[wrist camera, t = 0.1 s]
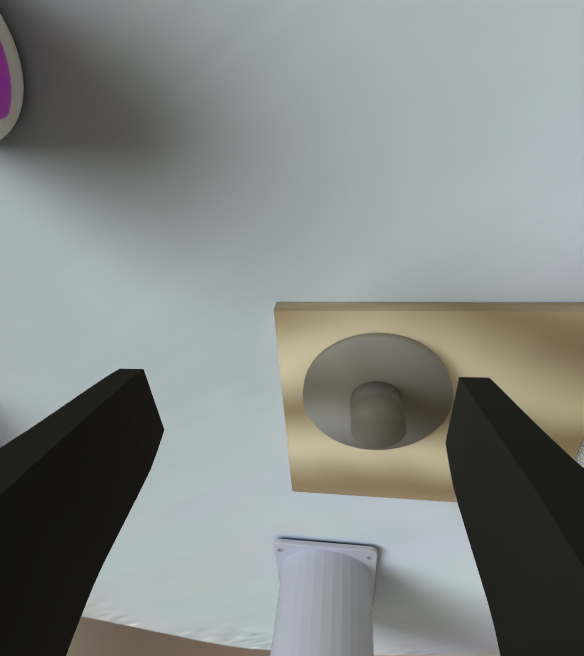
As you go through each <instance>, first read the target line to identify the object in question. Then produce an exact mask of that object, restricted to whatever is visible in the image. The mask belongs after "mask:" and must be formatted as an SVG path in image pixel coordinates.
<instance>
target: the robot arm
mask: <svg viewBox="0 0 584 656" xmlns="http://www.w3.org/2000/svg"><path fill="white" fill-rule="evenodd" d="M163 432H164V428H163V425H162V422H161V419H160V416H159V413H158V410H157V407H156V404H155V401H154V398H153V396H152V393H151V390H150V387H149V384H148V381H147V378H146V375H145V372H144V369H119V370H117V371H115V372H114V373H112V374H110V375H109V376H107V377H106V378H104V379H102V380H101V381H99V382H98V383H96V384H95V385H93V386H92V387H90V388H89V389H88V390H86V391H85V392H83V393H82V394H80V395H79V396H77V397H76V398H74V399H73V400H71V401H70V402H69V403H67V404H66V405H64V406H63V407H61V408H60V409H58V410H57V411H55V412H54V413H52V414H51V415H50V416H48V417H47V418H45V419H44V420H42V421H41V422H39V423H38V424H36V425H35V426H33V427H32V428H30V429H29V430H27V431H26V432H24V433H23V434H21V435H20V436H18V437H16V438H15V439H13V440H12V441H10V442H9V443H7V444H6V445H4V446H2V447H1V448H0V656H66V654H67V652H68V648H69V646H70V643H71V641H72V638H73V635H74V633H75V630H76V628H77V625H78V623H79V620H80V618H81V615H82V613H83V610H84V608H85V605H86V603H87V600H88V598H89V595H90V593H91V590H92V588H93V585H94V583H95V581H96V579H97V576H98V574H99V572H100V570H101V568H102V565H103V563H104V561H105V559H106V557H107V555H108V553H109V551H110V549H111V547H112V545H113V543H114V541H115V539H116V538H117V536H118V534H119V532H120V530H121V528H122V526H123V524H124V522H125V520H126V518H127V516H128V514H129V512H130V510H131V508H132V506H133V504H134V502H135V500H136V498H137V496H138V494H139V492H140V490H141V488H142V486H143V484H144V482H145V480H146V478H147V476H148V473H149V471H150V469H151V467H152V464H153V461H154V459H155V456H156V453H157V450H158V447H159V444H160V441H161V438H162V435H163ZM445 444H446V450H447V456H448V462H449V468H450V473H451V478H452V483H453V488H454V492H455V495H456V499H457V502H458V505H459V509H460V512H461V515H462V519H463V522H464V525H465V529H466V532H467V535H468V539H469V542H470V545H471V548H472V552H473V555H474V558H475V561H476V565H477V568H478V571H479V575H480V578H481V581H482V584H483V588H484V591H485V594H486V597H487V601H488V605H489V608H490V612H491V616H492V620H493V623H494V627H495V632H496V636H497V641H498V646H499V650H500V655H501V656H584V468H583V467H582V466H581V465H579V464H578V463H577V462H576V461H575V460H574V459H573V458H572V457H571V456H570V455H569V454H567V453H566V452H565V451H564V450H563V449H562V448H561V447H560V446H559V445H558V444H557V443H556V442H555V441H554V440H553V439H551V438H550V437H549V436H548V435H547V434H546V433H545V432H544V431H543V430H542V429H541V428H540V427H539V426H538V425H537V424H536V423H535V422H534V421H533V420H532V419H531V418H530V417H529V416H528V415H527V414H526V413H525V412H524V411H523V410H522V409H521V408H520V407H519V406H518V405H517V404H516V403H515V402H514V401H513V400H512V399H511V398H510V397H509V396H508V395H507V394H506V393H505V392H504V391H503V390H502V389H501V388H500V387H499V386H498V385H497V384H496V383H495V382H493V381H492V380H491V379H490V378H485V377H459V380H458V385H457V390H456V394H455V399H454V404H453V409H452V414H451V418H450V423H449V428H448V433H447V437H446V442H445ZM274 550H275V556H276V562H277V568H278V574H279V580H280V587H279V595H278V602H277V609H276V617H275V624H274V632H273V639H272V647H271V654H270V656H374V650H373V628H372V605H373V595H374V585H375V575H376V565H377V549H376V548H375V547H372V546H361V545H349V544H337V543H326V542H314V541H302V540H290V539H276V540H275V541H274Z"/></svg>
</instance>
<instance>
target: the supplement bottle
mask: <svg viewBox="0 0 584 656" xmlns="http://www.w3.org/2000/svg"><path fill="white" fill-rule="evenodd" d="M23 93H24V83H23V73H22V68H21V62H20V59H19V55H18V52H17V49H16V46H15V43H14V41H13V38H12V36H11V33H10V31H9V29H8V27H7V25H6V23H5V21H4V19H3V17H2V15H1V14H0V140H1V139H2V138H3V137H5V136H6V135H7V134H8V133H9V132H10V131H11V129H12V128H13V127H14V125H15V123H16V122H17V119H18V117H19V114H20V111H21V108H22V103H23Z"/></svg>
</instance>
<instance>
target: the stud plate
mask: <svg viewBox="0 0 584 656" xmlns="http://www.w3.org/2000/svg"><path fill="white" fill-rule="evenodd" d="M274 317H275V326H276V336H277V346H278V356H279V365H280V375H281V385H282V394H283V404H284V414H285V423H286V433H287V443H288V452H289V462H290V472H291V482H292V491H296V492H311V493H326V494H341V495H356V496H370V497H385V498H400V499H415V500H430V501H445V502H457V499H456V495H455V492H454V488H453V483H452V478H451V473H450V468H449V462H448V456H447V450H446V444H445V442H446V437H447V433H448V428H449V423H450V418H451V414H452V409H453V404H454V399H455V394H456V390H457V385H458V380H459V377H485V378H490V379H491V380H492V381H493V382H495V383H496V384H497V385H498V386H499V387H500V388H501V389H502V390H503V391H504V392H505V393H506V394H507V395H508V396H509V397H510V398H511V399H512V400H513V401H514V402H515V403H516V404H517V405H518V406H519V407H520V408H521V409H522V410H523V411H524V412H525V413H526V414H527V415H528V416H529V417H530V418H531V419H532V420H533V421H534V422H535V423H536V424H537V425H538V426H539V427H540V428H541V429H542V430H543V431H544V432H545V433H546V434H547V435H548V436H549V437H550V438H551V439H553V440H554V441H555V442H556V443H557V444H558V445H559V446H560V447H561V448H562V449H563V450H564V451H565V452H566V453H567V454H569V455H570V456H571V457H572V458H573V459H574V458H575V456H576V454H577V452H578V450H579V448H580V446H581V444H582V442H583V439H584V303H339V302H276V305H275V308H274Z"/></svg>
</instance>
